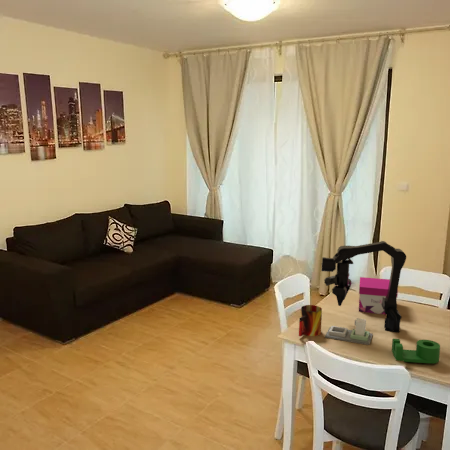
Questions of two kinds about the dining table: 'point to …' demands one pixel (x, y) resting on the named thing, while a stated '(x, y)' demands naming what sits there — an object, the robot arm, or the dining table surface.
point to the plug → (360, 327)
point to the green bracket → (417, 352)
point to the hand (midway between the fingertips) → (341, 302)
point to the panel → (348, 335)
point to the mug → (310, 320)
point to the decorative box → (372, 294)
